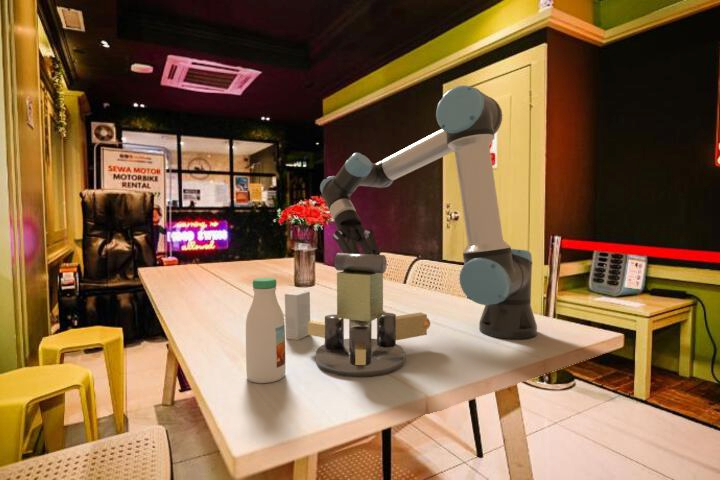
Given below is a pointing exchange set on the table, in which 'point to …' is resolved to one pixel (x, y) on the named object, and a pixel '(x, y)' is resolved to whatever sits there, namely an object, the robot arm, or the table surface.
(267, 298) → the milk bottle
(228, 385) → the table surface
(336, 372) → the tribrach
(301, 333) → the skincare box
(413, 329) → the knob lever
